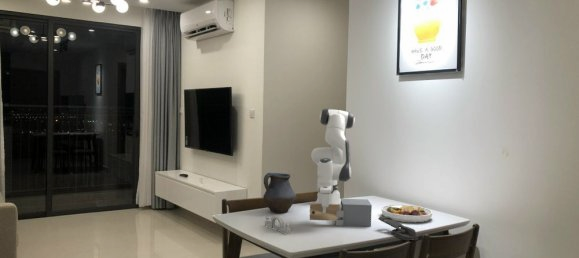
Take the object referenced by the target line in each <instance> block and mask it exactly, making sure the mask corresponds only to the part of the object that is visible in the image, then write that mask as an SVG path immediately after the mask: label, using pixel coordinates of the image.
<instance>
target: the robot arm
mask: <svg viewBox="0 0 579 258" xmlns="http://www.w3.org/2000/svg"><path fill="white" fill-rule="evenodd" d="M319 121H320V124H322V125H324V126H326V129H325V135H324V141H325V142H326V143H327V144H328V145H329V146H330V147H328V146H327V147H326V146H325V147H322V146H321V147H316V148H315V147H314V149H313V150H312V151H311V154H310V156H311V159H312V162H313V163H314V164H316V165H317V171H316V174H317V180H316V183H317V184H316V192H318V193H316V197H317V199H316V200H315V201H314V203H315V204H322V207H323V213H326V207H328V206H329V204H341V195H340V191H339V190H338V189H339V184H338V181H339V182H343V183H345V182H347V181H349V180H350V179H351V177H352V167H351V149H350V142H349V139H348V138H346V135H345V133H346V130H347V129H351V128H353V127H354V125H355V121H356V119H355V115H354V113H352V112H350V111H345V110H341V109H339V110H338V109H332V108H331V109H330V108H323V109H322V110H321V112H320V113H319Z"/></svg>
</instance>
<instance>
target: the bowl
mask: <svg viewBox="0 0 579 258" xmlns="http://www.w3.org/2000/svg"><path fill="white" fill-rule="evenodd" d="M381 214H382V215H383V217H391V218H392V219H394V220H395V221H397V222H399V223H406V222H415V223H416V222H421V223H425V222H428V221H430V220H431V218H432V216H433V211H432V210H430V209H428V208H425V207H422V206H419V205H411V204H410V205H407V204H390V205H384V206H382V207H381ZM424 221H425V222H424ZM415 223H414V224H415ZM416 224H417V223H416Z"/></svg>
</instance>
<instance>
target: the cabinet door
mask: <svg viewBox="0 0 579 258" xmlns="http://www.w3.org/2000/svg"><path fill="white" fill-rule="evenodd" d="M341 206H342V205H341V204H329V206H328V207H326V213H323V207H322V204H315V202H314V203H313V202H312V203H311V202H310V203H309V220H310V221H326V222H327V221H331V222H336V220H341V217H336V212H337V211H341Z"/></svg>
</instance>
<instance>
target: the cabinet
mask: <svg viewBox="0 0 579 258" xmlns="http://www.w3.org/2000/svg"><path fill="white" fill-rule="evenodd" d="M340 202H341V205H342V206H341V211H337V212H336V217H341V220H336V221H335V226H336V227H344V226H346V227H347V226H351V227H352V226H353V227H355V226H356V227H372V209H373V208H372V207H373V205H372V203H371V202H370V200H369V199H368V198H367V199H365V198H364V199H363V198H340Z"/></svg>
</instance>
